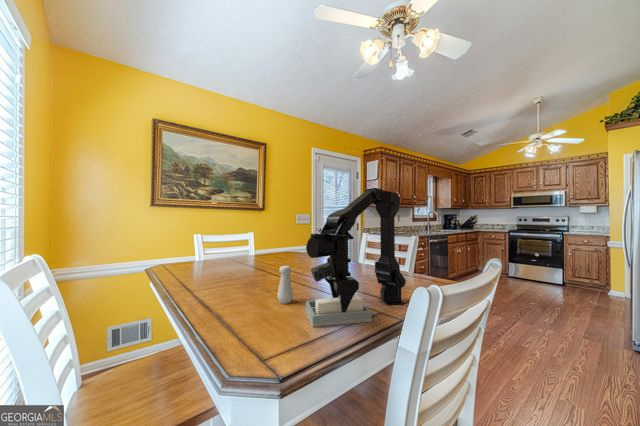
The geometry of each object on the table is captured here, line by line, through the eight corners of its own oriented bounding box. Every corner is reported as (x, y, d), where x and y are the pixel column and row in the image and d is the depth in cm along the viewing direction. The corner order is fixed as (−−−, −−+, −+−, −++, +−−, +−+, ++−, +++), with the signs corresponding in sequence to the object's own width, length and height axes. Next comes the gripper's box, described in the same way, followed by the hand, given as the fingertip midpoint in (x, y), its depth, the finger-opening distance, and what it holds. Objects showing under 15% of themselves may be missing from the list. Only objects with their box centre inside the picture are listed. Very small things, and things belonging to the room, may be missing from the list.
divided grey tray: (356, 306, 87) (356, 297, 87) (371, 321, 74) (371, 311, 74) (305, 310, 83) (305, 301, 84) (312, 327, 70) (312, 316, 70)
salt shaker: (285, 305, 88) (285, 268, 88) (274, 302, 91) (273, 266, 92) (296, 301, 92) (296, 266, 93) (285, 298, 96) (285, 264, 96)
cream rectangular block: (358, 311, 79) (358, 295, 79) (363, 316, 76) (363, 299, 76) (315, 316, 76) (315, 299, 76) (318, 320, 72) (318, 303, 72)
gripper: (308, 251, 84) (308, 298, 83) (318, 260, 65) (319, 321, 65) (340, 250, 86) (340, 296, 85) (359, 259, 67) (359, 317, 67)
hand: (339, 306), depth 76 cm, fingers open, 9 cm apart
